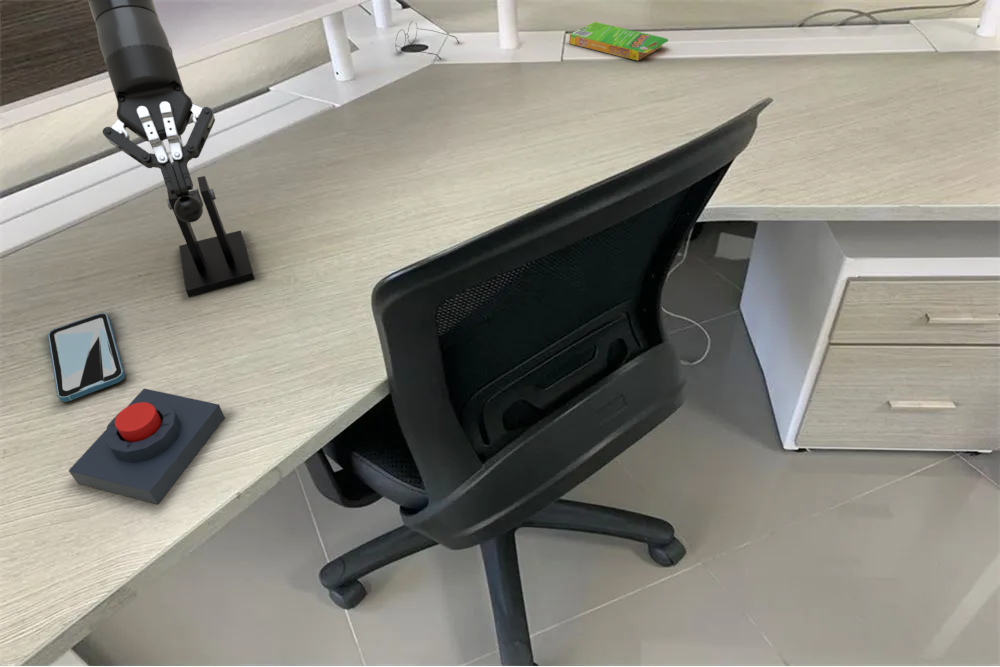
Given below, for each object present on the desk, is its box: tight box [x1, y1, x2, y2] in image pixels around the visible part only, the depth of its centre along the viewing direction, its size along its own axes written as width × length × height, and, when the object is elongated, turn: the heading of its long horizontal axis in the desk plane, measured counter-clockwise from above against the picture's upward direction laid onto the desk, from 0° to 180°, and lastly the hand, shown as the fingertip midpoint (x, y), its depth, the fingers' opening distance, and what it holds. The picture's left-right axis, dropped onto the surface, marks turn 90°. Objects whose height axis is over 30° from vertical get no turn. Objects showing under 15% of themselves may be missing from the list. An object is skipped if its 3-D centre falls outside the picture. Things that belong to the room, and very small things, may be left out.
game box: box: [569, 21, 669, 62], centre depth 157 cm, size 3×10×20 cm
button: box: [115, 402, 161, 442], centre depth 73 cm, size 4×4×2 cm
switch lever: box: [174, 187, 204, 223], centre depth 90 cm, size 13×3×3 cm, turn 24°
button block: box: [68, 388, 225, 505], centre depth 75 cm, size 12×10×4 cm
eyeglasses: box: [394, 22, 460, 61], centre depth 161 cm, size 11×13×5 cm
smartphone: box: [47, 312, 126, 403], centre depth 87 cm, size 7×1×15 cm
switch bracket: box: [166, 175, 256, 298], centre depth 97 cm, size 12×9×13 cm
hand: (182, 194), depth 84 cm, fingers closed
